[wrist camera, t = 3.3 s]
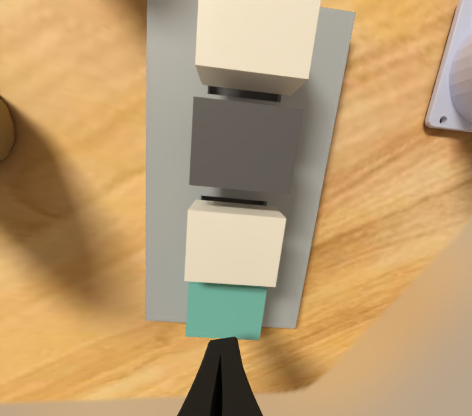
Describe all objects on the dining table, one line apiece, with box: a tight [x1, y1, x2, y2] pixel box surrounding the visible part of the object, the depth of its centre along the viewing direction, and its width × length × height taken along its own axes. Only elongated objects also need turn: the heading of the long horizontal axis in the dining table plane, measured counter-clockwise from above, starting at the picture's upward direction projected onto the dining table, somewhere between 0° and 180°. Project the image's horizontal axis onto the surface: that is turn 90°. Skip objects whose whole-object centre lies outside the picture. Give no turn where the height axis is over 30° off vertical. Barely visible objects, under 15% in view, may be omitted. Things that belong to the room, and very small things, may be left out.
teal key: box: [186, 281, 267, 340], centre depth 15 cm, size 5×4×4 cm
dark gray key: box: [189, 96, 304, 194], centre depth 12 cm, size 5×4×4 cm
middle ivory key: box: [184, 200, 286, 287], centre depth 13 cm, size 5×4×4 cm
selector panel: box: [145, 0, 356, 329], centre depth 16 cm, size 12×22×1 cm, turn 174°
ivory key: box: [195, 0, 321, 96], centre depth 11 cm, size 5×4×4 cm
